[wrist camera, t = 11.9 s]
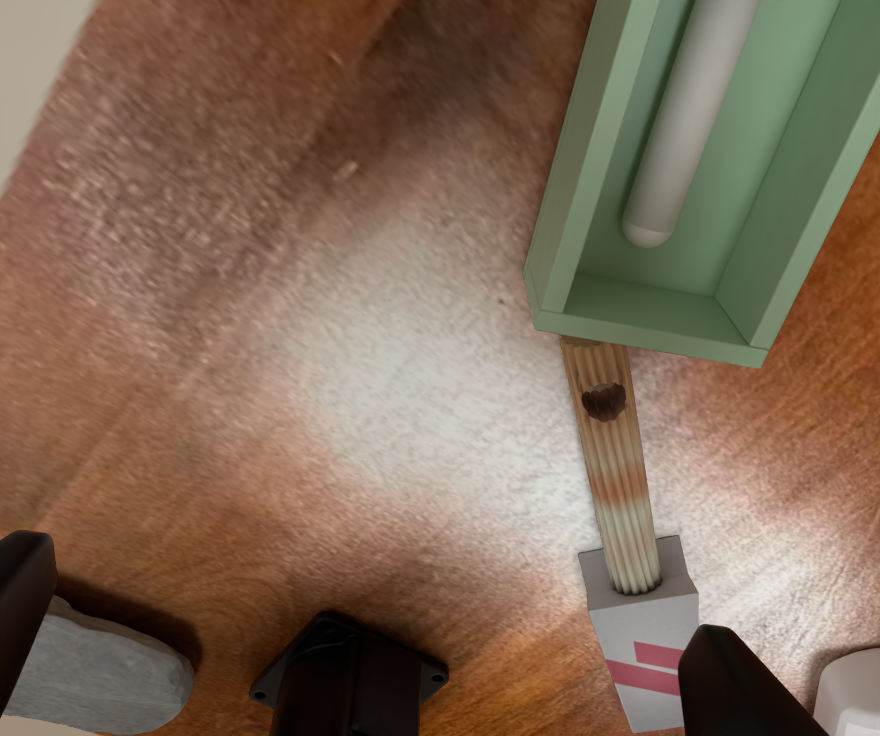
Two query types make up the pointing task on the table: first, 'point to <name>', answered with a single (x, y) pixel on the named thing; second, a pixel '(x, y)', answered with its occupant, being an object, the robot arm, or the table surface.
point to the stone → (99, 676)
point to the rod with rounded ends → (686, 117)
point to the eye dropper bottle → (850, 695)
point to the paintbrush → (629, 545)
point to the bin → (705, 179)
